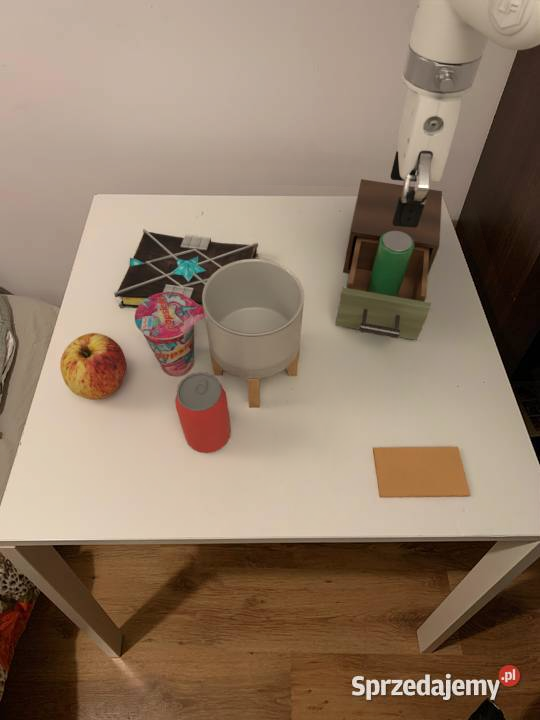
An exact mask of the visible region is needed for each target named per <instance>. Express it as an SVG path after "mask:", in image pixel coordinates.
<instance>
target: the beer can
mask: <svg viewBox="0 0 540 720" xmlns="http://www.w3.org/2000/svg"><path fill="white" fill-rule="evenodd" d="M174 399H175V400H174V404H175V410H176V414H177V416H178V420H179V423H180V426H181V429H182V433H183V435H184V436H183V437H184V439H185V441H186V443H187V445H188V447H190V448H191V449H192V450H194V451H195V452H198V453H202V454H203V453H204V454H210V453H214V452H217V451H219V450H221V449H222V448H223V447H225V445H226V444H227V443H228V441H229V440H230V437H231V432H232V430H231V421H230V413H229V405H228V398H227V392H226V390H225V388H224V387H223V385H222V383H220V380H219V379H218V378H217V377H216V376H215V375H214V374H210V373H208V372H203V371H202V372H201V371H198V372H193V373H191V374H189V375H186V376H185V377H184V378H183V379H181V381H180V382H179V384H178V386H177V388H176V394H175V398H174Z"/></svg>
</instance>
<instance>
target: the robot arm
mask: <svg viewBox="0 0 540 720" xmlns="http://www.w3.org/2000/svg"><path fill="white" fill-rule="evenodd" d="M488 41H491V42H492V43H493V44H495V45H497V46H499V47H501V48H504V49H506V50H511V51H525V50H529V49H533V48H535V47H537V46H539V45H540V0H418V1H417V7H416V11H415V15H414V20H413V24H412V29H411V33H410V39H409V42H408V47H407V51H406V56H405V61H404V65H403V69H402V74H401V80H402V82H403V84H404V85H405V86H406V87H407V88H408V90H407V93H406V97H405V101H404V104H403V109H402V112H401V117H400V123H399V128H398V133H397V151H396V152H395V156H394V160H393V163H392V167H391V172H390V180H392V181H401V182H403V192H402V197H399V199H398V203H397V206H396V210H395V214H394V218H393V225H394V226H401V227H413V228H415V227H417V226H418V224H419V221H420V218H421V215H422V211H423V208H424V205H425V203H426V199H427V193H428V190H429V189H430V183H435V184H437V183H439V182H440V181H441V180H442V178H443V174H444V171H445V167H446V165H447V161H448V158H449V154H450V150H451V147H452V143H453V141H454V136H455V132H456V129H457V125H458V120H459V116H460V110H461V107H462V101H463V96H464V95H466V94H467V93H469V92H470V91H471V90H472V88H473V85H474V82H475V79H476V76H477V74H478V70H479V67H480V64H481V62H482V58H483V55H484V52H485V49H486V46H487V43H488ZM411 182H415V186H414V187H415V188H414V190H411V191H410V192H409V186H410V185H411Z"/></svg>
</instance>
